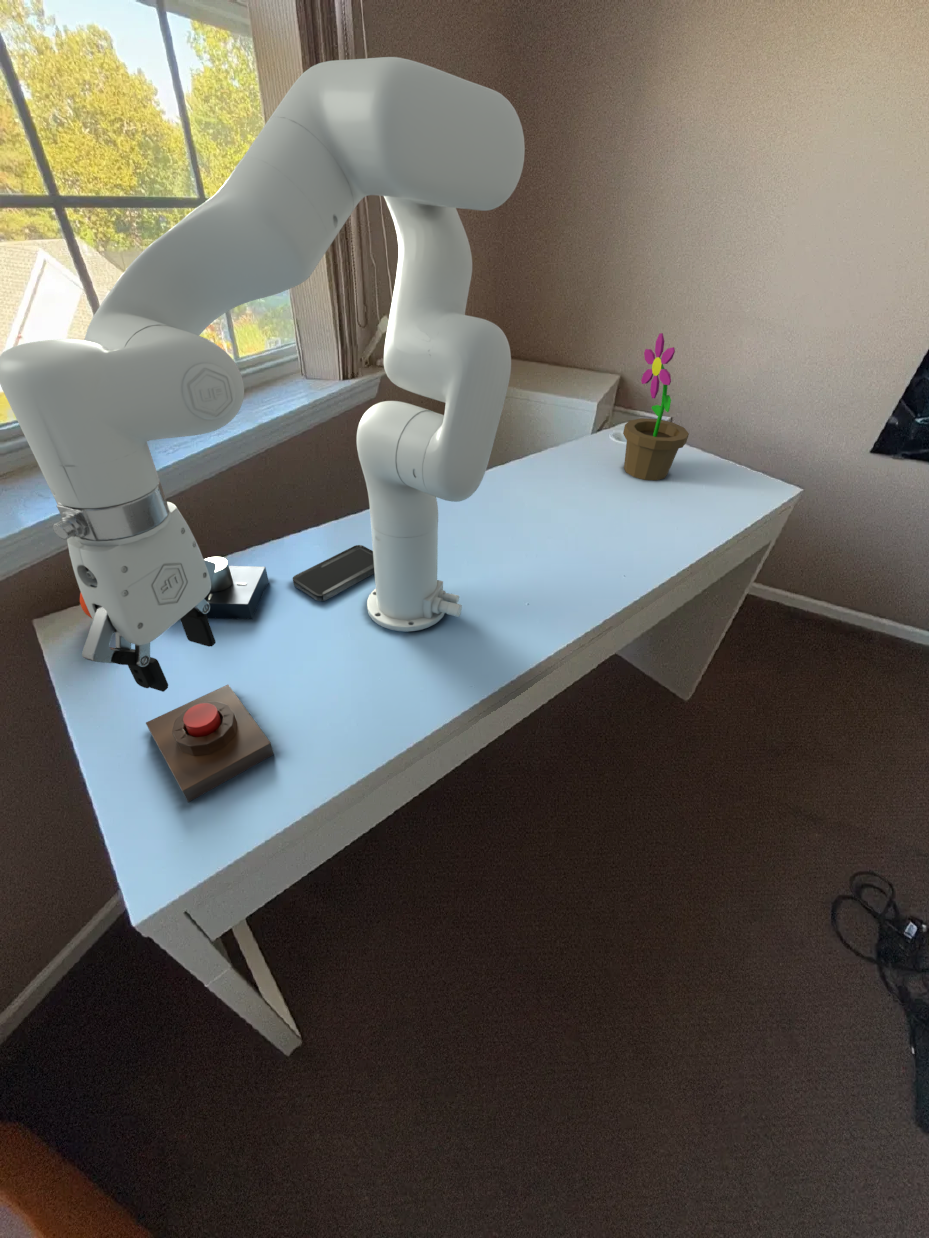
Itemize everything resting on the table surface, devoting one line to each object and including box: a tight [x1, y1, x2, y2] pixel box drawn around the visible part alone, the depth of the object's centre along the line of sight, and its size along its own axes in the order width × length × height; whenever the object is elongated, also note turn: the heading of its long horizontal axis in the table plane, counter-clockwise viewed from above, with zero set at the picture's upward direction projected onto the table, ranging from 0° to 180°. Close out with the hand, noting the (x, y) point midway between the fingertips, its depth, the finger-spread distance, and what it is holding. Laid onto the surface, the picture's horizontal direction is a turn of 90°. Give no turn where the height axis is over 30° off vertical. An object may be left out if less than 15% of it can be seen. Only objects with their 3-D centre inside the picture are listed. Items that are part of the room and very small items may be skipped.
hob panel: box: [207, 565, 270, 620], centre depth 86 cm, size 12×10×3 cm
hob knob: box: [203, 556, 233, 592], centre depth 84 cm, size 4×4×4 cm
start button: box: [183, 703, 221, 737], centre depth 62 cm, size 4×4×2 cm
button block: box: [145, 684, 275, 803], centre depth 64 cm, size 12×10×4 cm
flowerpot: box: [622, 332, 690, 481], centre depth 122 cm, size 14×14×30 cm
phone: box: [292, 544, 375, 602], centre depth 93 cm, size 8×1×15 cm
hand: (178, 662), depth 57 cm, fingers open, 6 cm apart
